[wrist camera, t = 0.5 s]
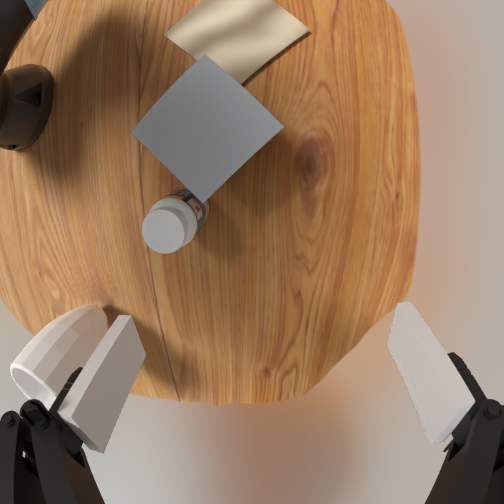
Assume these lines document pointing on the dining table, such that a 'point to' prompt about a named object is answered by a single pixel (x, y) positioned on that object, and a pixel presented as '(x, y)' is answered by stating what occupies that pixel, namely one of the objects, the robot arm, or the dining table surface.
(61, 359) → the cup
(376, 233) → the dining table surface
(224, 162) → the grey cover
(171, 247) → the pill bottle
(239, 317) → the dining table surface
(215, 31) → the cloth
